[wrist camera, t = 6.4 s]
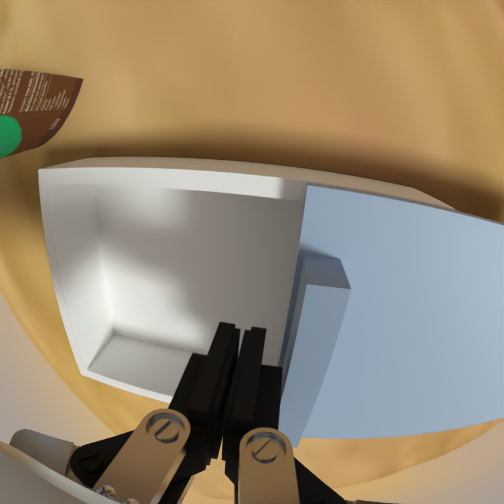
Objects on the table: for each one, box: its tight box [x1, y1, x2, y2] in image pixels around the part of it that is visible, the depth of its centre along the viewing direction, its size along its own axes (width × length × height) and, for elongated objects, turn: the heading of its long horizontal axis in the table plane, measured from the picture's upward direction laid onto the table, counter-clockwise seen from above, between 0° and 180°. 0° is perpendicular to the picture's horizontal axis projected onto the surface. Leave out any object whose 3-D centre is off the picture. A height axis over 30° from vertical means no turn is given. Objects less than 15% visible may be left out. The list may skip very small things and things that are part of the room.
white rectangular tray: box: [38, 157, 456, 403], centre depth 14 cm, size 12×17×4 cm
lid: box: [277, 182, 504, 447], centre depth 10 cm, size 12×17×3 cm
